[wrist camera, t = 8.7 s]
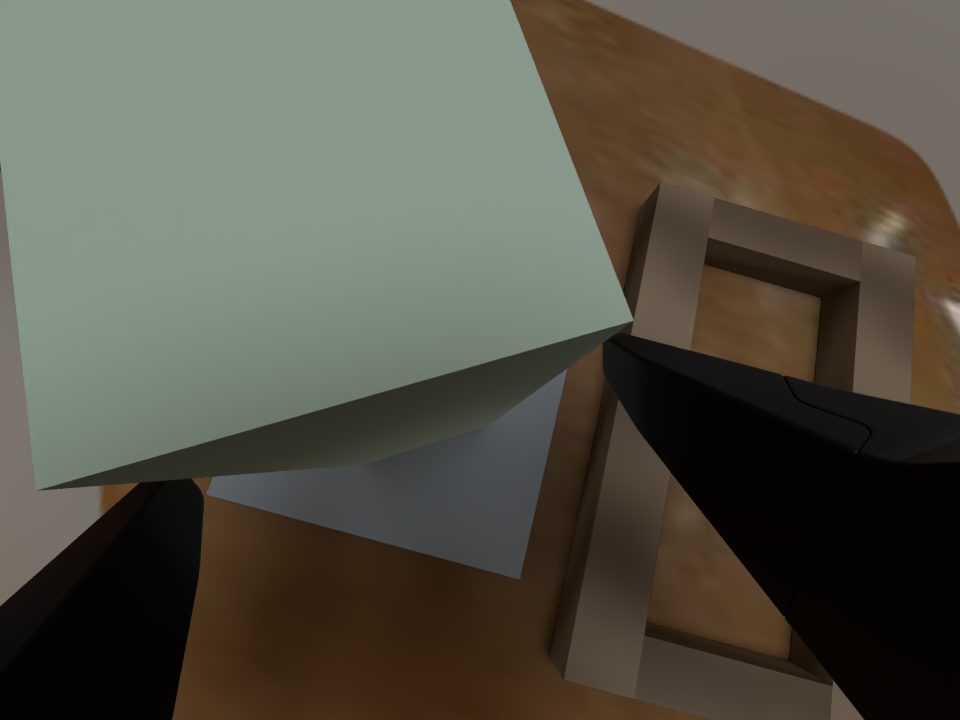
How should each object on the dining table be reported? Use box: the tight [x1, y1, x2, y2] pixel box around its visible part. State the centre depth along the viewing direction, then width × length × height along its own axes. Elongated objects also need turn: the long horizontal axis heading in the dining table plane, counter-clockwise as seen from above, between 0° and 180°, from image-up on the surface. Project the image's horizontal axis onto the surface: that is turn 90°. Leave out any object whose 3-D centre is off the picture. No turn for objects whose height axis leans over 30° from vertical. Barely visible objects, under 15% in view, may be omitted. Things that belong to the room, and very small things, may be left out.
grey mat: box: [206, 369, 567, 580], centre depth 18 cm, size 12×12×1 cm
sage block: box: [0, 0, 634, 491], centre depth 11 cm, size 5×5×14 cm
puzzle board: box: [550, 182, 916, 720], centre depth 18 cm, size 20×12×2 cm, turn 165°
